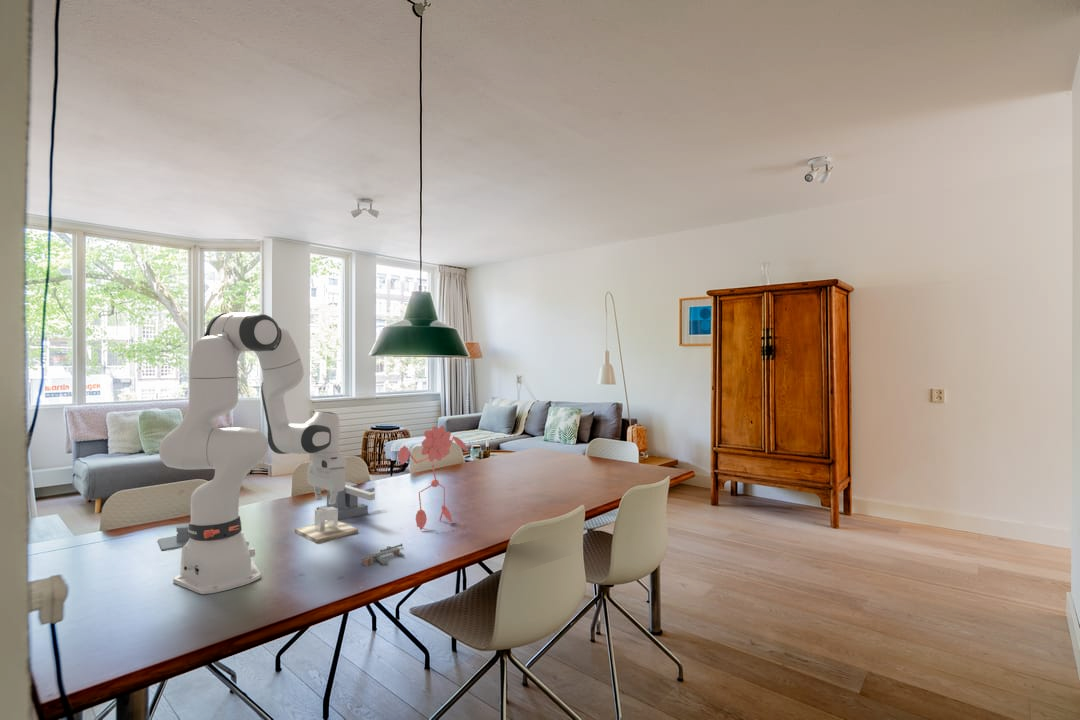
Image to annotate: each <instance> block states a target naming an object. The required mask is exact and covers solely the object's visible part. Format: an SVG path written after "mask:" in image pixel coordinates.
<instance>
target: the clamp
mask: <svg viewBox="0 0 1080 720" xmlns="http://www.w3.org/2000/svg"><path fill="white" fill-rule="evenodd" d="M403 546H404V545H403V543H400V544H397V545H394V546H390V545H388V546H386V548H384V549H381V548H380V550H379V552H377V553H372V554H369V555H366V556H363V557H362V558H361V564H362V565H363V566H364V567H369V566H373V563H377V562H379V564H381V565H382V566H385V565H388V564H389V560H388V559H390V558H393V557H396V556H401V557H405V554H404V553H403V552H401V551H400V550H401V549H400V547H403ZM391 553H393V554H391ZM389 554H390V555H389ZM384 555H387V556H384ZM382 556H383V557H382Z"/></svg>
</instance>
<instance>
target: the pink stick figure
mask: <svg viewBox="0 0 1080 720" xmlns="http://www.w3.org/2000/svg"><path fill="white" fill-rule="evenodd" d="M423 434H424V437H425V438H424V440H423V441H421V446H422V449H421V455H422V456H426V455H428V456H427V457H425V458H423V459H420V460H418V461H417V460H416V459H415V458H414V456H413V455H412V453H411V452H410V450H409V448H408V447H407V446H406V445H403V446H402V447H400V449H399V450H398V452H397V458H398V461H399V463H400V464H401V465H403V466H404V465H405V463H406V462H407V461H408V460H409V457H411V459H412V460H413V461H414V463H415V464H419V463H421V462H424V461H426V460H429V462H430V463H431V468H432V472H433V478H434V479H432V480H431V482H430V485H429V486H427V487H425V488H423V489H422V490H420V491H419V492H418V500H419V510H418V511H416V514H415V522H416V527H418V528H419V529H420V531H421V530H423V529H424V527H425V526H426V524H427V520H428V519H427V514H426V512H425V510H423V509H422V502H421V501H422V500H421V493H423V492H424V491H426V490H427V489H429V488H431V487H432V488H437V487H438V486H440V488H443V504H442V505H441V514H440V517H439V522H441V520H442V518H443V515H444V517H445V518H446V519H447V520H448V522H449V521H450V522H451V523H452V522H453V520H452V514H451V512H450V510H449V509H448V507H447V506H446V488H445V486H443V485H442V484H440V482H439V480H438V479H437V477H436V473H435V472H436V471H435V466H434V465H435V464H434V461H435V460H436V461H439V462H441V460H442V459H443V458H446V456H448V455H449V454H450V447H451V446H452V445H453V441H454V442H455V443H456V445H458V447H459V448H460V449H462V450H464V451H467V452H469V448H468V447H467V446H466V444H465V442H464V441H462V440H461V439H460V438H459V437H457V436H454V435H453V436H452V438H451V435H452V434H451V432H450V431H446V427H445V426H444V425H440V426H439V427H438V426H433V427H432V430H430V429H427V430H424V433H423ZM463 527H466V524H465V525H463V526H461V527H459V528H456V529H454V530H449V531H448V533H450V532H455V531H458V530H459V529H462V528H463ZM400 529H401V530H402V529H403V528H402V527H400ZM444 533H447V531H446V532H445V531H444V532H442V534H444ZM437 534H440V532H439V533H438V532H436V535H437Z"/></svg>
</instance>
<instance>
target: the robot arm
mask: <svg viewBox="0 0 1080 720" xmlns="http://www.w3.org/2000/svg"><path fill="white" fill-rule="evenodd" d="M205 330H206V331H205V333H204V335H203V337H200V338H198V339H197V340H196V341H195V342H194V344H193V345H192V351H191V356H190V362H189V393H188V394H189V397H188V405H187V410H186V413H185V415H184V417H183V419H182V420H181V421H180V423H179V424H178V425H177V426H176V427H175V428H174V429H173V430H171V431H170V432H168V433H167V434H165V436H164V437H163V439H162V440H161V442H160V443H159V444H160V445H159V449H158V453H159V458H160V461H161V462H162V463H163V464H164V465H165V466H166V467H168V468H171V469H172V468H173V469H179V470H188V471H189V470H210V469H213V470H214V476H213V478H212V479H211V480H208V481H206V482H204V483H203V484H201V485H199V486H197V487H196V488H195V489H194V490H193V491H192V493H191V496H190V522H189V523H188V524H189V527H188V536H189V537H190V538H189V540H188V542H187V543H186V544H185V546H184V547H181V555H180V556H181V557H180V573H179V574H178V575H176V576H174V577H173V581H172V582H173V584H176V585H178V586H180V587H183V588H185V589H188V590H190V591H192V592H195V593H198V594H201V595H207V594H209V595H210V594H216V593H219V592H224V591H228V590H232V589H235V588H239V587H242V586H245V585H249V584H250V583H252V582H255V581H258V580H259V579H261V578H262V575H261V572H260V570H259V568H258V567H257V565H256V563H255V561H254V560H253V558H254V557H255V556H256V548H254V547H251V548H249V546H250V540H246V538H245V537H244V536H245V534H244V533H243V532H242V530H243V529H242V521H241V516H240V515H239V507H240V506H239V503H240V494H241V493H240V492H241V488H242V484H243V483H244V480H245V478H246V477H247V475H248V474H249V472H251V471H252V470H253V469H254V468H255V467H256V466H257V465H259V464H260V463H261V462H262V461H263V460H264V459H265V457H266V455H267V453H268V450H269V448H270V449H271V451H273V452H274V453H275V454H279V455H284V454H285V455H286V454H295V455H296V454H298V455H306V454H307V455H311V457H310V458H311V460H310V463H309V464H308V467H307V474H306V475H307V476H306V482H307V485H308V486H312V487H313V493H314V497H315V498H314V499H315V500H316V501H321V500H322V499H323V494H322V492H321V491H322V490H326V491H327V490H329V491H330V494H331V495H330V498H329V499H328V501H329V502H328V503H329V504H331V505H332V504H335V503H336V497H337V494H338V492H339V491H343V490H344V488H345V484H346V482H347V480H346V479H347V471H346V470H347V469H346V467H347V466H348V465H347V464H348V461H347V459H345V458H344V457H343V455H342V454H341V449H340V446H339V445H340V443H339V442H340V438H341V427H340V426H341V425H340V424H341V423H340V419H339V416H338V415H337V414H336V413H335V412H331V411H315V412H314V414H313V416H312V417H311V418H310V419H308V420H306V421H305V422H303V423H301V422H300V423H296V422H295V423H294V422H291V421H290V420H289V419H288V415H287V410H286V406H285V401H284V397H285V394H286V393H287V392H290V390H293V389H295V388H296V387H297V386H298V385H300V383H301V382H302V380H303V378H304V374H305V373H304V366H303V363H302V359H301V356H300V352H299V350H298V348H297V346H296V343H295V341H294V340H293V338H292V335H291V334H290V332H289V331H288V330H287V329H285V328H284V327H281V326H279V325H278V322H277V321H276V320H275V319H274V318H273V317H271V316H270V315H267V314H264V313H260V312H245V311H235V312H223V313H220V314H218V315H215V316H214V317H212V318H211V320H210V321H209V322H208V324H207V326H206V329H205ZM242 352H243V353H245V352H253V353H255V354H256V357H258V362H259V365H260V368H261V371H262V376H263V381H262V383H261V385H260V386H261V387H260V393H261V399H262V405H263V410H264V416H265V419H266V421H265V422H266V426H267V437H266V435H265V433H264V432H263V431H261V429H256V428H249V427H243V426H239V427H231V426H230V427H217V426H216V421H217V419H218V417H220V416H223V415H225V414H227V413H229V412H230V411H232V410H233V409H234V408H235V407H236V406H237V404H238V402H239V388H238V387H239V381H238V378H239V377H238V375H239V374H238V373H239V372H238V360H239V357H240V355H241V354H242ZM321 489H322V490H321Z"/></svg>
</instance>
